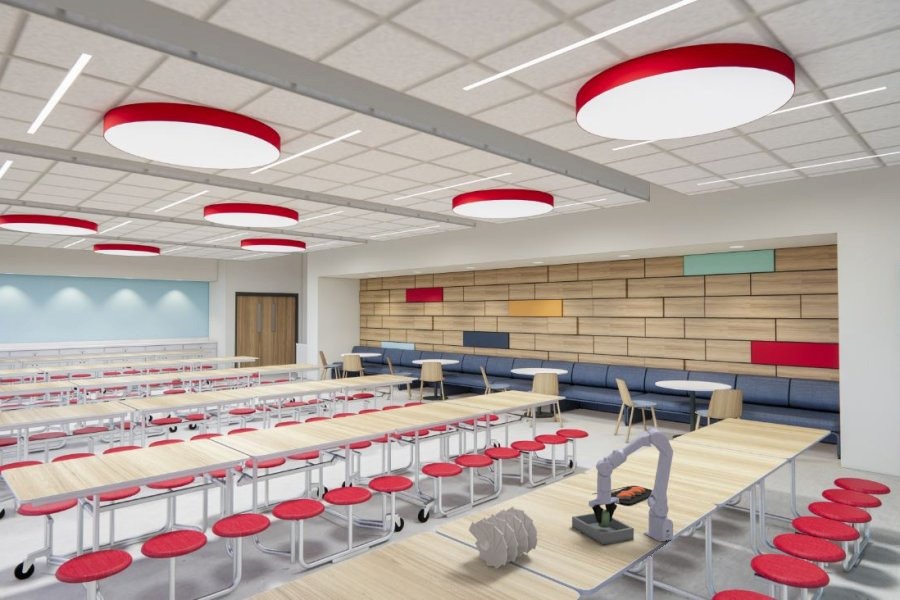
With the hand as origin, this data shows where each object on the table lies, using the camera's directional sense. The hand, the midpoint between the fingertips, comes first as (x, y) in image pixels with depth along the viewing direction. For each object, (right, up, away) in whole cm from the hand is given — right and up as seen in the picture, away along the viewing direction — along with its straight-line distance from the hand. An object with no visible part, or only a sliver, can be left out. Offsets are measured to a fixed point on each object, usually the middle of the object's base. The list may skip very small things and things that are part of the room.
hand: (603, 521), depth 227 cm
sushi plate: (+22, -7, +52) cm, 57 cm away
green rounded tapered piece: (0, -2, 0) cm, 2 cm away
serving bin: (-1, -5, -1) cm, 5 cm away
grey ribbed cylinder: (-44, -4, -26) cm, 52 cm away
